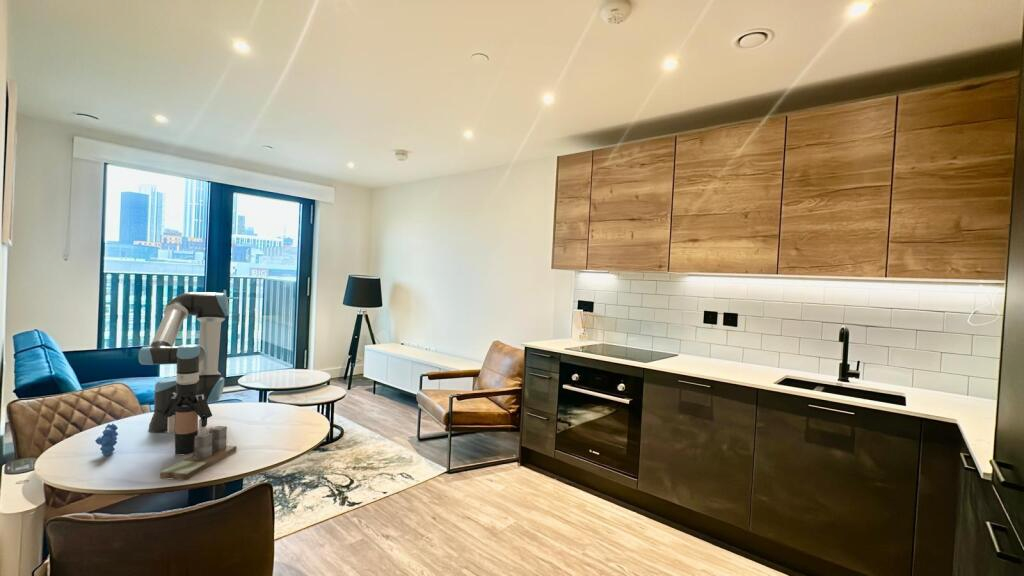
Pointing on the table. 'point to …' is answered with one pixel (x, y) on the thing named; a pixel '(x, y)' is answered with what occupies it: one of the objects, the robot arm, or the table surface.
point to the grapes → (108, 439)
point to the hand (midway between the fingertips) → (186, 433)
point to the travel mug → (185, 429)
